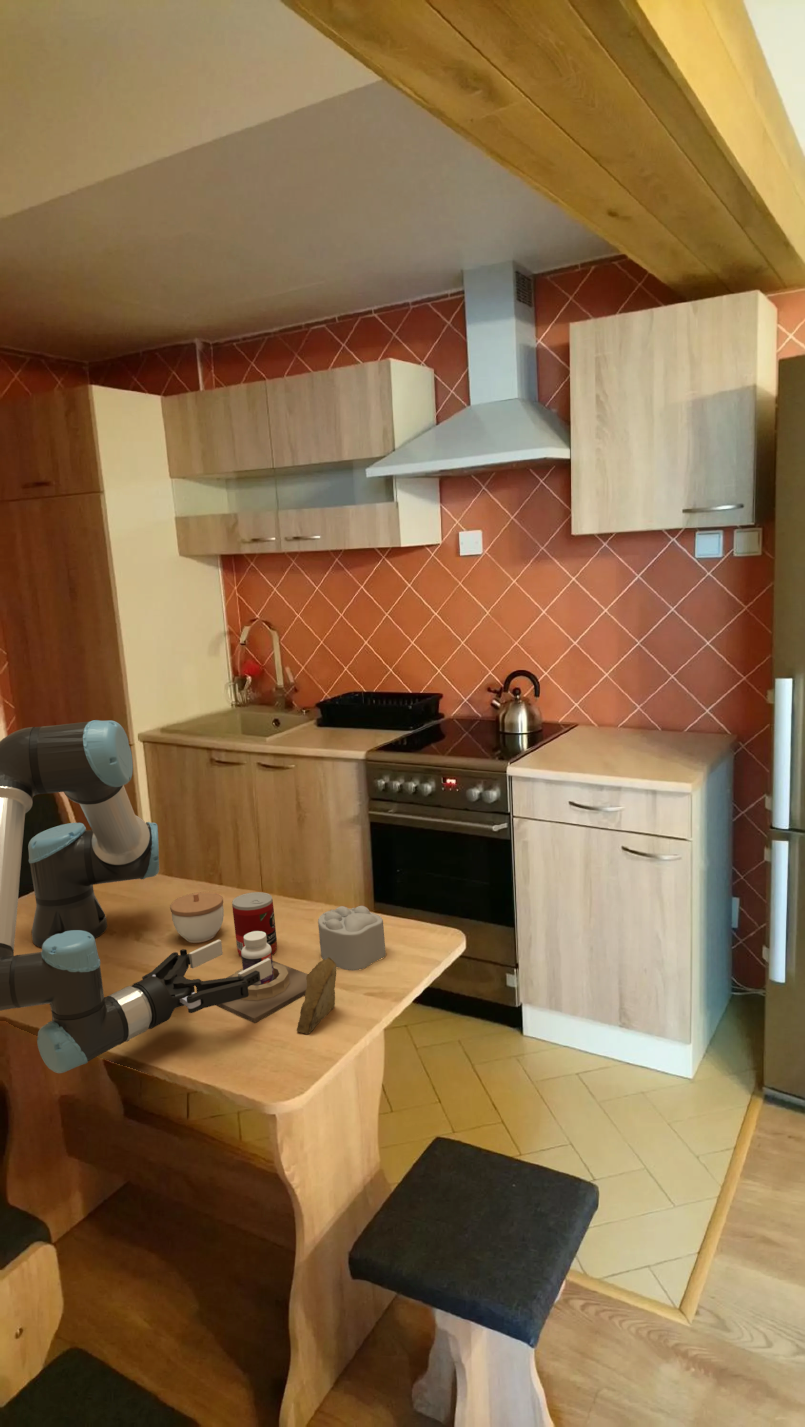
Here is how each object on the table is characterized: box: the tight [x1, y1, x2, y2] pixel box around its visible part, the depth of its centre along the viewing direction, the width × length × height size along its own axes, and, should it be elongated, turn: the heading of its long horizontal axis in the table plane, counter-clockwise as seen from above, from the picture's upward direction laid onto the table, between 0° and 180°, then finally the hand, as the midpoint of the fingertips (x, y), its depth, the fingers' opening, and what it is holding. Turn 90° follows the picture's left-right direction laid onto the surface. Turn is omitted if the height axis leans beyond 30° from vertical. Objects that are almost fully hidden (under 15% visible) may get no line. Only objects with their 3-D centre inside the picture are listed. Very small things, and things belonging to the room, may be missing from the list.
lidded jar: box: [169, 891, 225, 944], centre depth 184 cm, size 11×11×9 cm
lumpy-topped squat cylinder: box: [317, 905, 387, 971], centre depth 171 cm, size 10×13×9 cm
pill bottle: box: [240, 931, 274, 985], centre depth 159 cm, size 5×5×10 cm
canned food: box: [231, 891, 278, 957], centre depth 174 cm, size 8×8×11 cm
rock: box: [296, 957, 337, 1035], centre depth 148 cm, size 11×9×10 cm
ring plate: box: [216, 960, 308, 1024], centre depth 159 cm, size 16×16×3 cm
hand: (244, 956), depth 156 cm, fingers open, 13 cm apart
